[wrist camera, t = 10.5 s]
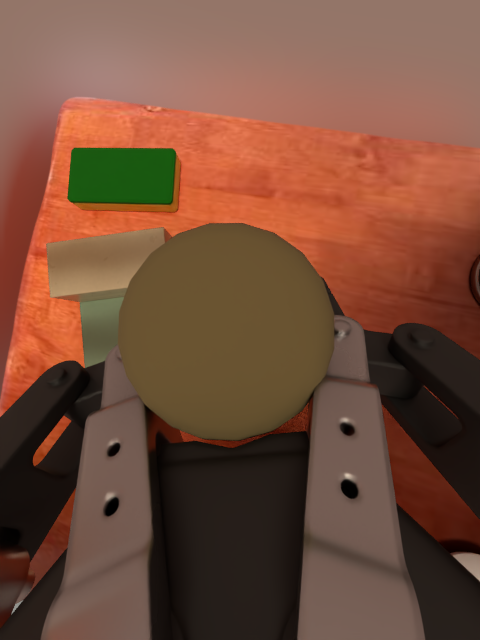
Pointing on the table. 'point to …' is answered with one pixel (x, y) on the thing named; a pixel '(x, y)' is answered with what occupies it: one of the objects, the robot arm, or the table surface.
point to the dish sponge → (124, 179)
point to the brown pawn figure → (226, 331)
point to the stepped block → (99, 281)
